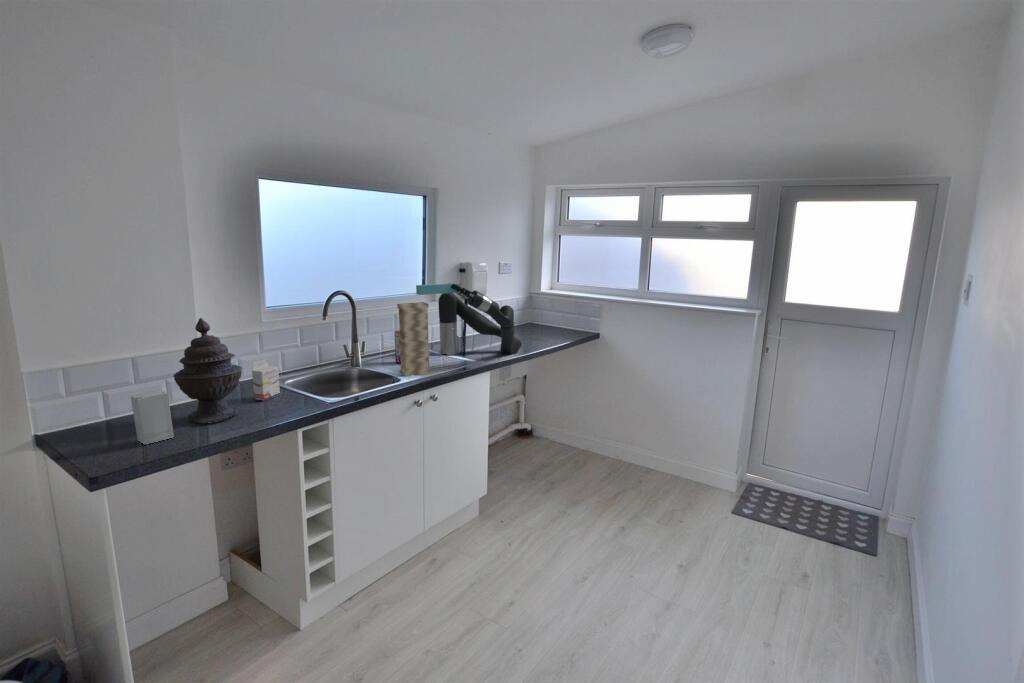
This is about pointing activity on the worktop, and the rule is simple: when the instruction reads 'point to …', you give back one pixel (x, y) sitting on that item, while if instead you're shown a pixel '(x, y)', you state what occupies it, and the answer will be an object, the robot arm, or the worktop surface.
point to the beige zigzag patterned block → (414, 338)
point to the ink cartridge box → (265, 379)
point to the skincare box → (152, 416)
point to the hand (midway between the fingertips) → (450, 285)
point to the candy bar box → (397, 346)
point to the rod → (436, 289)
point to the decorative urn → (208, 376)
